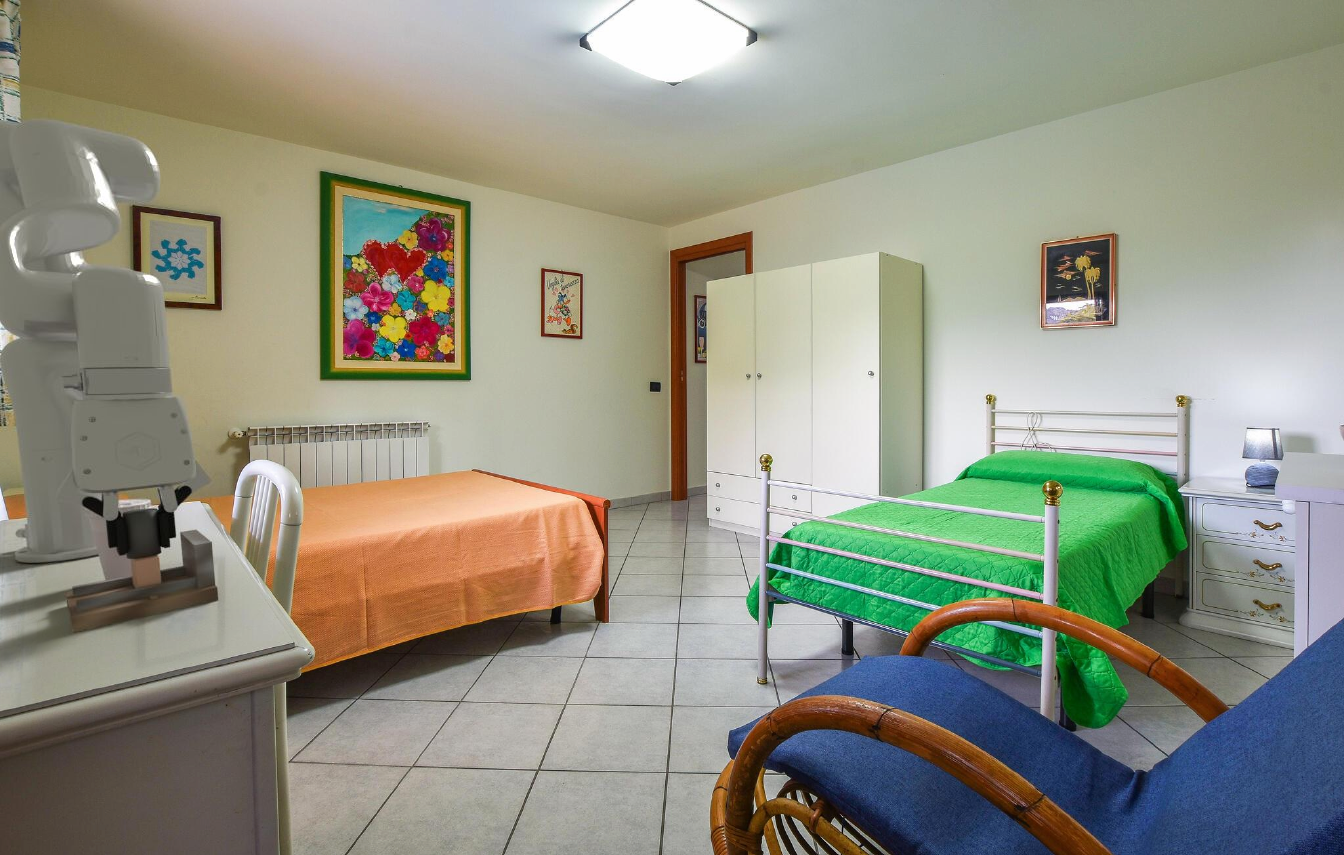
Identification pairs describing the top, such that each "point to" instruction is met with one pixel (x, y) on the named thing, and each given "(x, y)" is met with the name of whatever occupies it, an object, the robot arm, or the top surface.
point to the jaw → (143, 546)
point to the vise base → (147, 590)
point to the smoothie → (109, 557)
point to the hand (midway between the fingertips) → (143, 547)
